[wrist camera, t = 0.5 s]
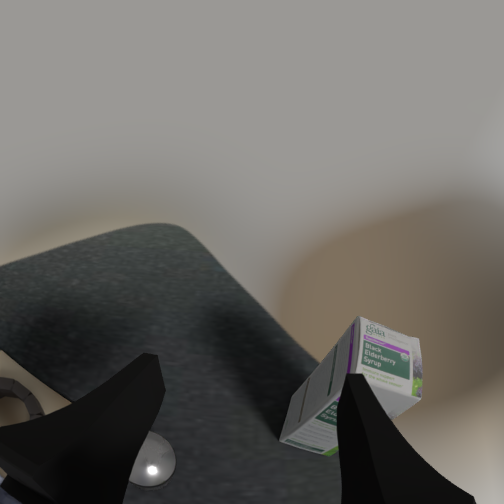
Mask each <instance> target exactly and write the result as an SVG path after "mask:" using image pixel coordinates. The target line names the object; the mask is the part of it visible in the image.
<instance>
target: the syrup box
mask: <svg viewBox="0 0 504 504" xmlns="http://www.w3.org/2000/svg"><path fill="white" fill-rule="evenodd" d="M346 373H362V374H363V375H364V376H365V378H366V380H367V382H368V384H369V386H370V387H371V389H372V391H373V393H374V394H375V396H376V398H377V399H378V401H379V403H380V404H381V406H382V407H383V409H384V410H385V412H386V413H387V415H388V416H389V418H390V419H391V420H392V419H394V418H395V417H397V416H398V415H400V414H401V413H403V412H404V411H405V410H407V409H408V408H410V407H411V406H413V405H414V404H416V403H417V402H418V401H419V400H420V399H421V397H422V358H421V351H420V344H419V339H418V338H415V337H409V336H406V335H404V334H402V333H400V332H397V331H395V330H393V329H391V328H388V327H386V326H383V325H381V324H378V323H375V322H373V321H370V320H367V319H365V318H363V317H361V316H357V317H356V319H355V320H354V321H353V323H352V324H351V325H350V327H349V328H348V329H347V330H346V332H345V333H344V334H343V336H342V337H341V338H340V339H339V341H338V342H337V343H336V344H335V346H334V347H333V348H332V349H331V351H330V352H329V353H328V354H327V356H326V357H325V358H324V359H323V361H322V362H321V363H320V364H319V365H318V367H317V368H316V369H315V370H314V371H313V372H312V374H311V375H310V376H309V377H308V378H307V379H306V381H305V382H304V383H303V384H302V385H301V386H300V387H299V389H298V390H297V391H296V392H295V393H294V394H293V395H292V397H291V401H290V405H289V408H288V412H287V415H286V419H285V422H284V426H283V429H282V432H281V436H280V439H279V441H280V442H283V443H286V444H289V445H292V446H295V447H298V448H301V449H305V450H308V451H311V452H315V453H319V454H323V455H327V456H331V455H333V454H334V453H336V452H338V451H339V449H338V440H337V405H338V402H339V398H340V395H341V391H342V388H343V384H344V380H345V377H346Z"/></svg>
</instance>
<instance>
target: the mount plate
mask: <svg viewBox="0 0 504 504" xmlns="http://www.w3.org/2000/svg"><path fill="white" fill-rule="evenodd" d="M69 404H71V402H70V401H68V400H67V399H65V398H64V397H62V396H61V395H59V394H58V393H56V392H55V391H53V390H52V389H50V388H49V387H48V386H46V385H45V384H43V383H42V382H41V381H39V380H38V379H37V378H35V377H34V376H33V375H31V374H30V373H29V372H27V371H26V370H25V369H24V368H22V367H21V366H20V365H19V364H17V363H16V362H15V361H14V360H13V359H11V358H10V357H9V356H8V355H7V354H5V353H4V352H3V351H2V350H1V351H0V427H1V426H7V425H12V424H17V423H21V422H25V421H29V420H32V419H35V418H38V417H41V416H44V415H47V414H49V413H52V412H54V411H56V410H59V409H61V408H63V407H65V406H67V405H69ZM0 475H1V476H2V477H3V478H4V479H5V477H6V476H7V474H6V473H5V472H4V470H3V469H2V468H1V467H0Z"/></svg>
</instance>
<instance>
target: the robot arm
mask: <svg viewBox="0 0 504 504" xmlns="http://www.w3.org/2000/svg"><path fill="white" fill-rule="evenodd" d="M165 391H166V390H165V386H164V382H163V377H162V373H161V369H160V364H159V360H158V355H153V354H148V353H143V354H141V355H140V356H139V357H138V358H136V359H135V360H134V361H132V362H131V363H130V364H129V365H127V366H126V367H125V368H123V369H122V370H121V371H120V372H118V373H117V374H116V375H114V376H113V377H112V378H110V379H109V380H108V381H106V382H105V383H103V384H102V385H100V386H99V387H97V388H96V389H94V390H93V391H91V392H90V393H88V394H87V395H85V396H84V397H82V398H80V399H79V400H77V401H75V402H73V403H71V404H69V405H67V406H65V407H63V408H61V409H59V410H56V411H54V412H52V413H49V414H47V415H44V416H41V417H38V418H35V419H32V420H29V421H25V422H21V423H17V424H12V425H7V426H1V427H0V467H1V468H2V469H3V470H4V472H5V473H6V474H7V476H6V477H5V479H4V478H3V477H2V476H1V475H0V504H122V503H123V499H124V495H125V492H126V488H127V485H128V481H129V478H130V475H131V472H132V469H133V466H134V463H135V460H136V458H137V456H138V453H139V451H140V449H141V447H142V445H143V443H144V441H145V439H146V437H147V435H148V433H149V431H150V429H151V427H152V425H153V423H154V421H155V419H156V416H157V414H158V412H159V410H160V407H161V404H162V401H163V397H164V394H165ZM337 440H338V449H339V458H340V468H341V478H342V499H341V504H476V502H475V499H474V497H473V496H472V495H470V494H469V493H467V492H465V491H464V490H462V489H460V488H459V487H457V486H456V485H454V484H453V483H451V482H450V481H449V480H447V479H446V478H445V477H443V476H442V475H441V474H440V473H438V472H437V471H436V470H435V469H434V468H433V467H432V466H430V465H429V464H428V463H427V462H426V461H425V460H424V459H423V458H422V457H421V456H420V455H419V454H418V453H417V452H416V451H415V450H414V449H413V448H412V446H411V445H410V444H409V443H408V442H407V441H406V439H405V438H404V437H403V436H402V434H401V433H400V432H399V430H398V429H397V428H396V427H395V425H394V424H393V422H392V421H391V419H390V418H389V416H388V415H387V413H386V412H385V410H384V409H383V407H382V406H381V404H380V403H379V401H378V399H377V398H376V396H375V394H374V393H373V391H372V389H371V387H370V386H369V384H368V382H367V380H366V378H365V376H364V375H363V374H362V373H346V377H345V380H344V384H343V388H342V391H341V395H340V398H339V402H338V405H337Z"/></svg>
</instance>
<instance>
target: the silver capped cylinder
mask: <svg viewBox="0 0 504 504" xmlns="http://www.w3.org/2000/svg"><path fill="white" fill-rule="evenodd" d="M175 468H176V455H175V452H174V449H173V448H172V446H171V444H170V443H169V442H168V441H167V440H166V439H165V438H164V437H162V436H161V435H159V434H157V433H155V432H152V431H149V433H148V435H147V437H146V439H145V441H144V443H143V445H142V447H141V449H140V451H139V453H138V456H137V458H136V460H135V463H134V466H133V469H132V472H131V475H130V478H129V482H131V483H132V484H133V485H134V486H136V487H137V488H139V489H142V490H145V491H157V490H160V489H162V488H164V487H166V486H167V485H168V484H169V483H170V481H171V479H172V477H173V474H174V471H175Z"/></svg>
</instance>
